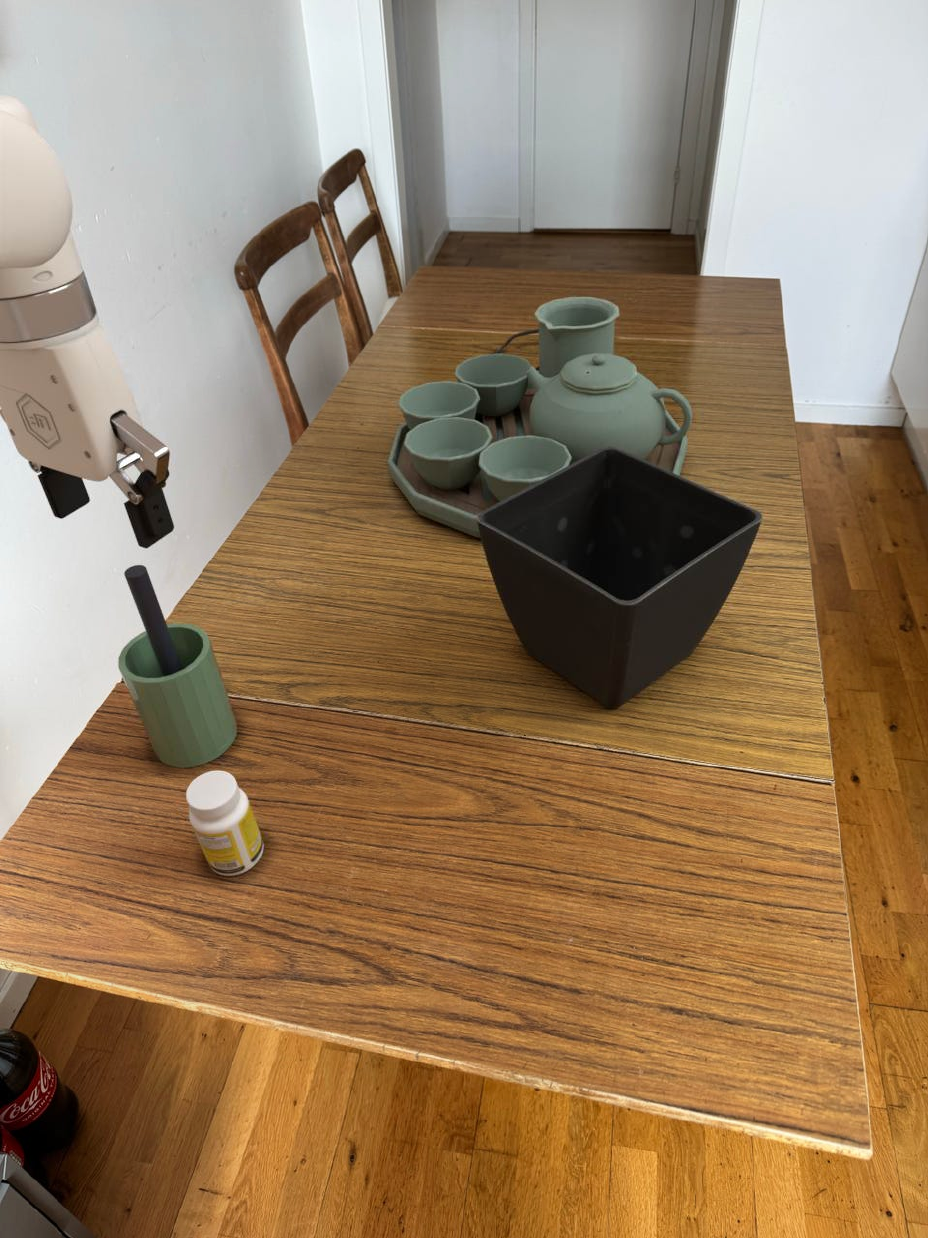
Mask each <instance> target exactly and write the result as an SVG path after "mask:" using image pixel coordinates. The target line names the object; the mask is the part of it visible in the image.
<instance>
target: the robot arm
mask: <svg viewBox="0 0 928 1238" xmlns="http://www.w3.org/2000/svg"><path fill="white" fill-rule="evenodd" d="M69 183H70V182H69V180H68V177H67V174H66V173H65V170H64V167H63V166H62V163H61V161H60V160H59V158H58V156H57V153H56V152H55V151H54V150H53V149H52V148H51V146H50V145H49V143H48V142H47V141H46V140H45V138H43V136H42V135H41V134H40V132H39V130H38V126H37V124H36V121H35V119H34V117H33V115H32V113H31V112H30V110H29V109H28V107H27V106H26V105H25V104H24V103H23V102H22V101H21V100H20V99H19V98H16V97H14V96H12V95H8V94H4V93H0V417H1V419H2V420H3V421H4V422H5V424H6V426H7V429H8V432H9V435H10V437H11V439H12V442H13V445H14V446H15V448H16V450H17V452H18V454H19V455H20V456H21V457H23V458H24V459H25V460H27V463H28V465H29V468H30V469H31V470H32V471H33V472H35V473H36V474H37V478H38V481H39V483H40V485H41V488H42V491H43V492H44V495H45V497H46V500H47V503H48V504H49V508H50V509H51V512H52V514H53V516H54V517H55V518H57V519H60V520H63V519H65V518H67V517H68V516H69V515H71V514H73V513H74V512H76V511H78V510H80V509H81V508H83V507H85V506H87V504H90V502H91V498H90V495H89V492H88V491H87V488H86V484H85V482H84V480H88V481H92V482H96V483H97V482H99V483H100V482H104V481H105V480H107V479H108V478H110V479H111V480H112V481H113V483H114V484H115V485H116V486H117V488H118V489H119V490H120V492H122V493H123V495H124V496H125V497H126V498H127V500H126V501H125V502H123V505H124V508H125V511H126V514H127V518H128V520H129V522H130V526H131V528H132V530H133V531H132V532H133V534H134V537H135V539H136V542H137V545H138V546H139V547H141V548H143V549H149V548H150V547H152V546H153V545H154V544H157V542H159V541H161V540H162V539H163V538H165V537H166V536H168V535H169V534H171V533H172V532H173V531H174V529H175V524H174V521H173V519H172V516H171V511H170V508H169V505H168V502H167V499H166V496H165V492H164V490H163V489H164V488H165V487H166V486H167V480H168V478H169V477H170V470H169V466H170V457H171V453H170V449H169V447H168V446H167V445H166V444H165V443H164V442H162V441H161V440H159V439H158V438H157V437H155V436H154V435H153V434H152V433H150V432H149V431H148V430H146V428H144V427H143V421H142V418H141V415H140V413H139V410H138V407H137V404H136V402H135V398H134V397H133V394H132V391H131V389H130V388H131V387H130V386H129V383H128V381H127V379H126V375H125V373H124V371H123V368H122V367H121V364H120V362H119V359H118V358H117V355H116V353H115V351H114V349H113V347H112V344H111V342H110V341H109V339H108V337H107V334H106V333H105V331H104V329H103V327H102V325H100V324H99V322H100V316H99V314H98V311H97V307H96V304H95V301H94V298H93V295H92V292H91V289H90V286H89V283H88V279H87V276H86V273H85V270H84V267H83V264H82V261H81V258H80V254H79V252H78V249H77V246H76V243H75V241H74V237H73V234H72V229H71V227H72V222H73V207H74V206H73V197H72V191H71V186H70V184H69ZM118 454H120V455H123V457H122V458H120V459H118ZM132 466H134V467H135V468H136V469H137V470H138V471H139V472H140V474H139V475H138V477H137V478H136V480H135V482H134V481H133V480H132V479H131V478H130V476H128V474H127V473H126V471H125V470H127V469H129V468H130V467H132ZM83 479H84V480H83Z"/></svg>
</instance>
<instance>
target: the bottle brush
mask: <svg viewBox="0 0 928 1238" xmlns="http://www.w3.org/2000/svg"><path fill="white" fill-rule="evenodd" d="M123 574H124V578H125V580H126V583H127V586H128V588H129V590H130V594H131V596H132V598H133V601H134V604H135V606H136V609H137V611H138V614H139V616H140V619H141V622H142V624H143V627H144V631H146V632H147V635H148V638H149V640H150V643H151V645H152V648H153V651H154V653H155V656H156V658H157V661H158V664H159V666H160V669H161V671H162V674H163V677H164V676H169V675H172V674H174V673H177V672H179V671H181V670H183V668H182V665H181V663H180V660H179V657H178V654H177V652H176V649H175V646H174V643H173V641H172V638H171V635H170V632H169V630H168V627H167V624H168V623H167V621H166V619H165V616H164V613H163V610H162V608H161V604H160V602H159V600H158V596H157V594H156V591H155V589H154V585H153V583H152V580H151V578H150V574H149V572H148V569H147V567H146V566H145V565H142V564H135V565H132V566H129V567H128V568H127V569H125V571H124V573H123Z"/></svg>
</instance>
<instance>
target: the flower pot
mask: <svg viewBox="0 0 928 1238" xmlns="http://www.w3.org/2000/svg"><path fill="white" fill-rule="evenodd" d="M476 519H477V523H478V528H479V532H480V537H479V538H480V540H481V545H482V548H483V551H484V555H485V558H486V562H487V566H488V569H489V571H490V575H491V579H492V580H493V583H494V586H495V589H496V591H497V594H498V597H499V599H500V601H501V604H502V607H503V609H504V611H505V613H506V615H507V618H508V619H509V622H510V624H511V626H512V627H513V629H514V632H515V634H516V637H517V638H518V639H519V641H520V644H521V646H522V647H523V649H524V651H525V652H526V653H527V654H529V655H530V656H532V657H533V658H534V659H536V660H537V661H539V662H540V663H542V664H543V665H544V666H545V667H547V668H549V669H550V670H552V671H553V672H554V673H556V674H557V675H559V676H560V677H562V678H564V679H565V680H566V681H568V682H569V683H571V684H572V685H574V686H575V687H577V688H578V689H580V690H581V691H582V692H584V693H585V694H587V695H588V696H589V697H591V698H592V699H594V700H596V701H597V702H598V703H600V704H601V705H603V706H605V707H606V708H609V709H617V708H620V707H622V706H623V705H624V704H625V703H627V702H628V701H630V700H631V699H632V698H634V697H635V696H637V695H638V694H640V693H641V692H642V691H644V690H645V689H646V688H648V687H649V686H651V685H652V684H653V683H654V682H656V681H657V680H658V679H660V678H661V677H662V676H664V675H665V674H666V673H668V672H669V671H670V670H672V669H673V668H674V667H676V666H677V665H679V664H680V663H682V662H683V661H684V660H685V659H686V658H688V657H689V656H690V655H692V654H693V653H694V651H695V650H696V648H697V647H698V646H699V644H700V643H701V641H702V640H703V638H704V637H705V636H706V634H707V632H708V631H709V629H710V628H711V627H712V625H713V623H714V621H715V620H716V618H717V616H718V614H720V612H721V610H722V609H723V607H724V605H725V603H726V601H727V599H728V597H729V595H730V594H731V592H732V590H733V588H734V587H735V585H736V582H737V580H738V578H739V576H740V574H741V572H742V570H743V568H744V565H745V563H746V561H747V559H748V556H749V554H750V552H751V549H752V547H753V545H754V542H755V540H756V538H757V535H758V532H759V530H760V526H761V523H762V521H763V514H762V513H761V512H760V511H758V510H757V509H755V508H752V507H750V506H748V505H746V504H744V503H741V502H739V501H737V500H735V499H733V498H730V497H728V496H727V495H723V494H722V493H719V492H716V491H715V490H713V489H711V488H708V487H706V486H703V485H701V484H699V483H698V482H694V481H692V480H690V479H688V478H685V477H683V476H682V475H680V476H679V475H677V474H675V473H672V472H670V471H668V470H666V469H663V468H661V467H659V466H657V465H654V464H652V463H650V462H648V461H646V460H643V459H641V458H639V457H637V456H634V455H632V454H630V453H628V452H625V451H623V450H621V449H619V448H616V447H611V446H609V447H604V448H601V449H599V450H597V451H595V452H593V453H591V454H589V455H588V456H586V457H584V458H582V459H580V460H578V461H576V462H575V463H573V464H571V465H569V466H567V467H565V468H563V469H561V470H560V471H558V472H556V473H554V474H552V475H550V476H548V477H546V478H545V479H543V480H541V481H539V482H537V483H535V484H533V485H531V486H529V487H527V488H525V489H524V490H522V491H520V492H518V493H516V494H514V495H512V496H510V497H508V498H507V499H505V500H503V501H501V502H499V503H497V504H495V505H493V506H491V507H490V508H488V509H486V510H484V511H482V512H481V513H479V514H478V515H477V518H476Z"/></svg>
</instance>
